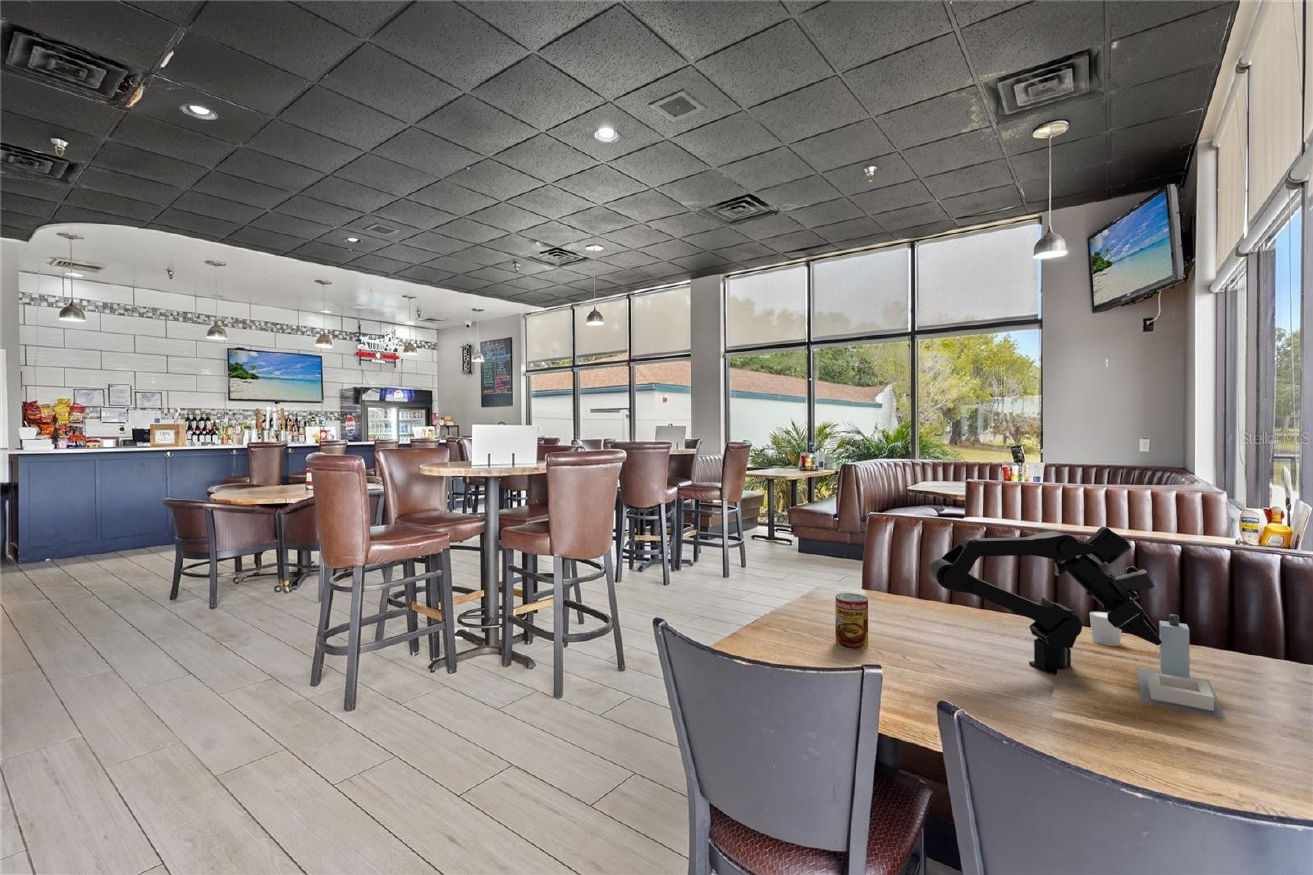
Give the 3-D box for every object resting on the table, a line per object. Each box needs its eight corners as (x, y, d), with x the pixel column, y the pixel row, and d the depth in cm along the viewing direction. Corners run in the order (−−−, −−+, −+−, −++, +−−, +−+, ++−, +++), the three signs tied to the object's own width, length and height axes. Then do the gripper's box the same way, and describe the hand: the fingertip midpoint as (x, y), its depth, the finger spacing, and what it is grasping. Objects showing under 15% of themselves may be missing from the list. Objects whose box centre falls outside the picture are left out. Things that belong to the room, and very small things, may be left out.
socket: (1150, 701, 116) (1150, 685, 116) (1148, 685, 124) (1147, 671, 124) (1213, 713, 111) (1213, 697, 111) (1207, 697, 118) (1206, 681, 118)
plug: (1161, 683, 125) (1160, 616, 125) (1159, 676, 128) (1159, 611, 129) (1189, 688, 122) (1189, 619, 122) (1187, 681, 126) (1186, 614, 126)
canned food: (834, 647, 150) (833, 599, 150) (837, 638, 157) (836, 592, 157) (867, 651, 147) (867, 602, 147) (869, 641, 154) (868, 594, 154)
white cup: (1129, 647, 150) (1128, 619, 150) (1098, 645, 151) (1097, 617, 151) (1114, 638, 156) (1113, 611, 156) (1084, 637, 158) (1084, 610, 158)
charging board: (1226, 724, 109) (1226, 718, 109) (1141, 707, 116) (1141, 701, 116) (1209, 685, 127) (1209, 680, 127) (1136, 672, 134) (1136, 667, 134)
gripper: (1127, 563, 123) (1200, 627, 116) (1123, 549, 138) (1187, 605, 131) (1080, 596, 127) (1148, 659, 121) (1081, 579, 143) (1141, 635, 136)
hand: (1158, 638), depth 127 cm, fingers open, 9 cm apart
